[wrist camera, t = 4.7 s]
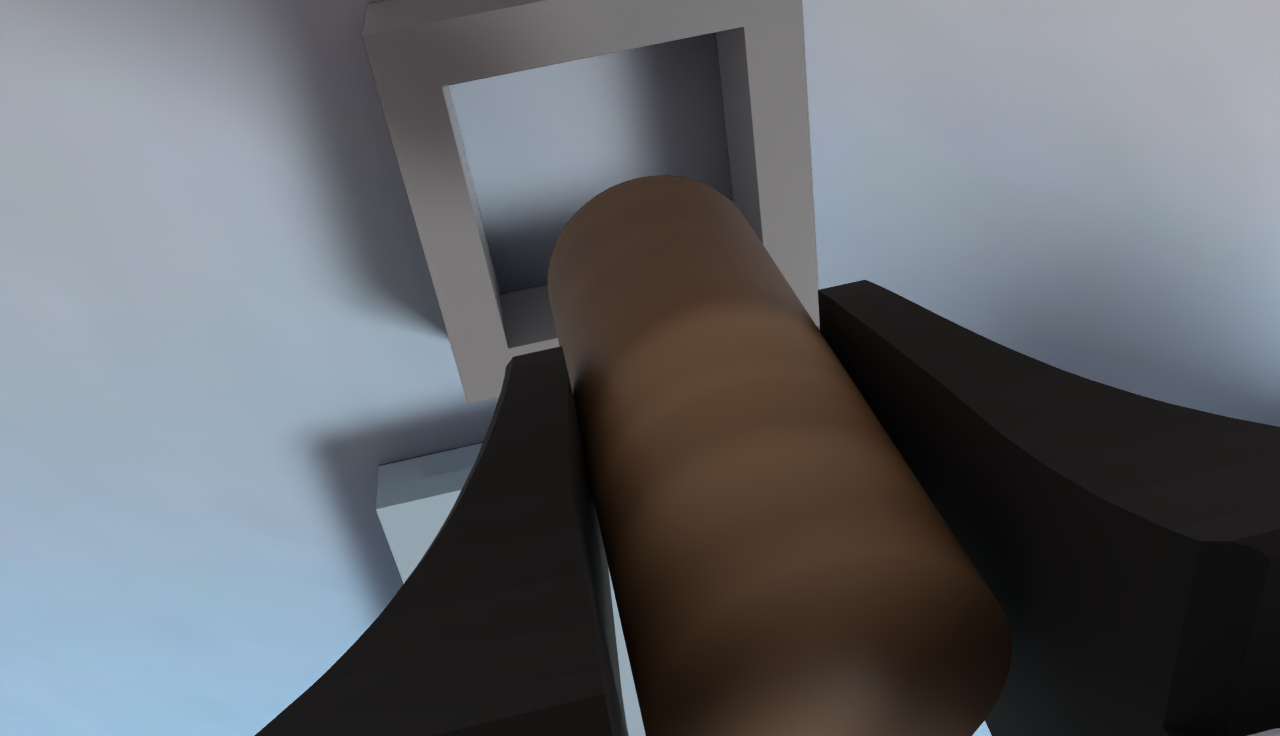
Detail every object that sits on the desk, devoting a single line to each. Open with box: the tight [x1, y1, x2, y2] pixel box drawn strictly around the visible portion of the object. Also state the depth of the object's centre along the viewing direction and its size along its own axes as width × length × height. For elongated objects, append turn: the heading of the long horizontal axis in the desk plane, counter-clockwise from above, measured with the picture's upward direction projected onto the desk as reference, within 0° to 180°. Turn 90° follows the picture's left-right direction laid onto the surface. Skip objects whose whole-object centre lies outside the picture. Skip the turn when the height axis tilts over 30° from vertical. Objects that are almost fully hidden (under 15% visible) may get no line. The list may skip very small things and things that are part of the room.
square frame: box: [362, 0, 820, 404], centre depth 19 cm, size 7×7×2 cm
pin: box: [548, 175, 1012, 736], centre depth 12 cm, size 3×3×8 cm
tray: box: [376, 443, 646, 736], centre depth 26 cm, size 12×12×2 cm
